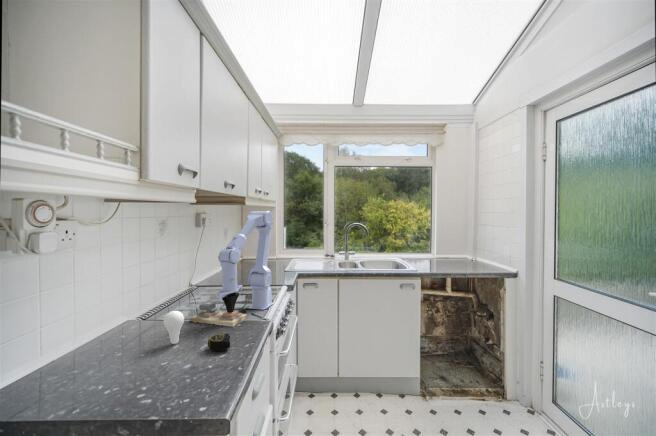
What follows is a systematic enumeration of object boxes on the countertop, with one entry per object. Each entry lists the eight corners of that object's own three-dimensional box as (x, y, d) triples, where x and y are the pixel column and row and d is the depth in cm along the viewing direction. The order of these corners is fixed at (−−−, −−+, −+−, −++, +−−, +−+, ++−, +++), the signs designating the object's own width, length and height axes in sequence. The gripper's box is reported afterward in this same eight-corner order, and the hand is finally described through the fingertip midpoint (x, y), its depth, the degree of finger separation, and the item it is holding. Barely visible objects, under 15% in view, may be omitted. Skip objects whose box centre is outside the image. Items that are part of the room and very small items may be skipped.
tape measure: (230, 351, 94) (230, 340, 94) (207, 355, 92) (206, 343, 92) (230, 342, 101) (230, 331, 101) (208, 345, 99) (208, 334, 99)
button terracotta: (229, 314, 123) (229, 309, 123) (238, 315, 122) (238, 310, 122) (222, 318, 119) (222, 313, 119) (232, 319, 118) (231, 314, 118)
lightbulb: (179, 348, 97) (178, 314, 97) (160, 348, 97) (159, 314, 97) (188, 339, 103) (187, 308, 103) (170, 340, 103) (169, 308, 103)
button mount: (207, 313, 130) (206, 307, 130) (247, 317, 124) (247, 311, 124) (190, 321, 120) (189, 315, 120) (232, 326, 114) (232, 320, 114)
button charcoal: (206, 306, 126) (206, 301, 126) (215, 307, 125) (215, 302, 125) (199, 309, 122) (199, 304, 122) (208, 310, 121) (208, 305, 121)
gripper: (232, 274, 128) (232, 305, 128) (209, 282, 114) (209, 317, 115) (246, 274, 126) (247, 307, 126) (224, 283, 112) (225, 319, 113)
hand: (230, 312), depth 120 cm, fingers closed, pressing on button terracotta
